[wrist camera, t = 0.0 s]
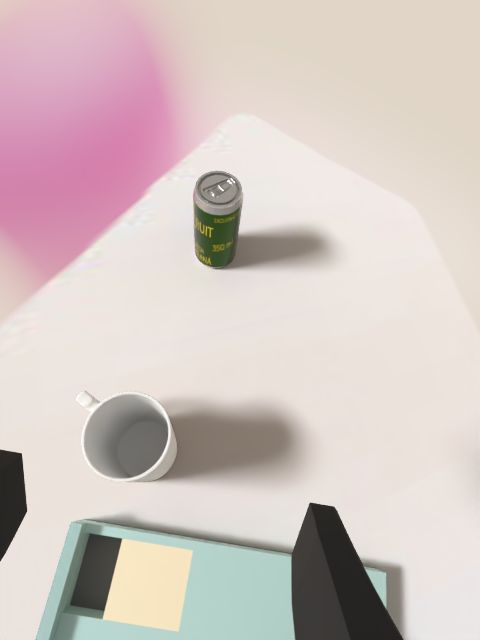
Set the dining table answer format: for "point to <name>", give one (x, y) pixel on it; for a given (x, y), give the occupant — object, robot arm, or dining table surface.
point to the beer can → (216, 218)
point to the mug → (127, 437)
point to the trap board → (168, 588)
